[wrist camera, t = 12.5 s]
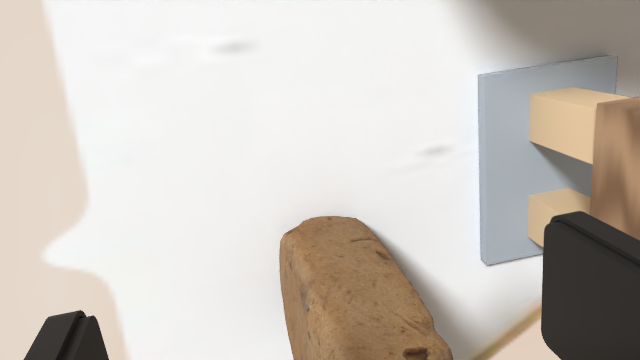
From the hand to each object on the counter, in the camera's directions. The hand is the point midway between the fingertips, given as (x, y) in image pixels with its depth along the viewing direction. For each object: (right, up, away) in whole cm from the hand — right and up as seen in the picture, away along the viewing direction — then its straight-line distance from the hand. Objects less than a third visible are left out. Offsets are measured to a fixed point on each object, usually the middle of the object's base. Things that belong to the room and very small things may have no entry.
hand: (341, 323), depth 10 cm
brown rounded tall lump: (0, -5, +34) cm, 34 cm away
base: (+19, +5, +35) cm, 40 cm away
